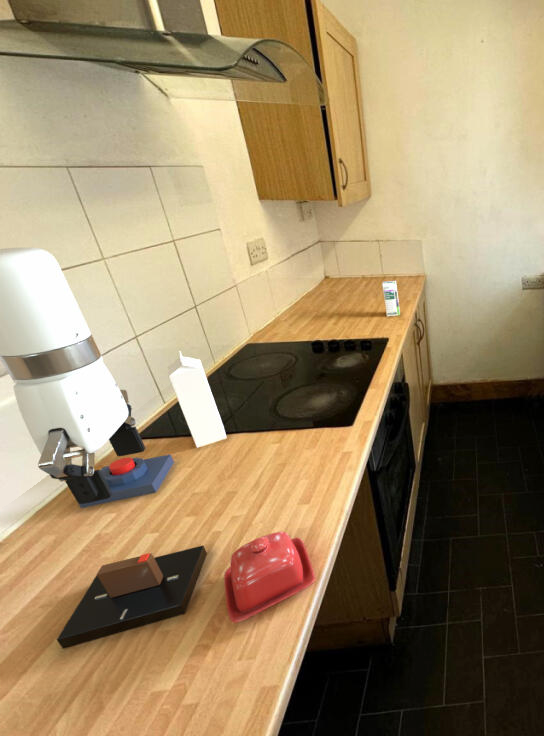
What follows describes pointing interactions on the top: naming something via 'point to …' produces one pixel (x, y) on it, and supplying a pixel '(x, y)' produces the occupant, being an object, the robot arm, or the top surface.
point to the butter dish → (266, 574)
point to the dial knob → (130, 575)
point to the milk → (196, 400)
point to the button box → (136, 479)
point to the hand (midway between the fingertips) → (115, 474)
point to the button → (122, 466)
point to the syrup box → (391, 298)
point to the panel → (135, 601)
